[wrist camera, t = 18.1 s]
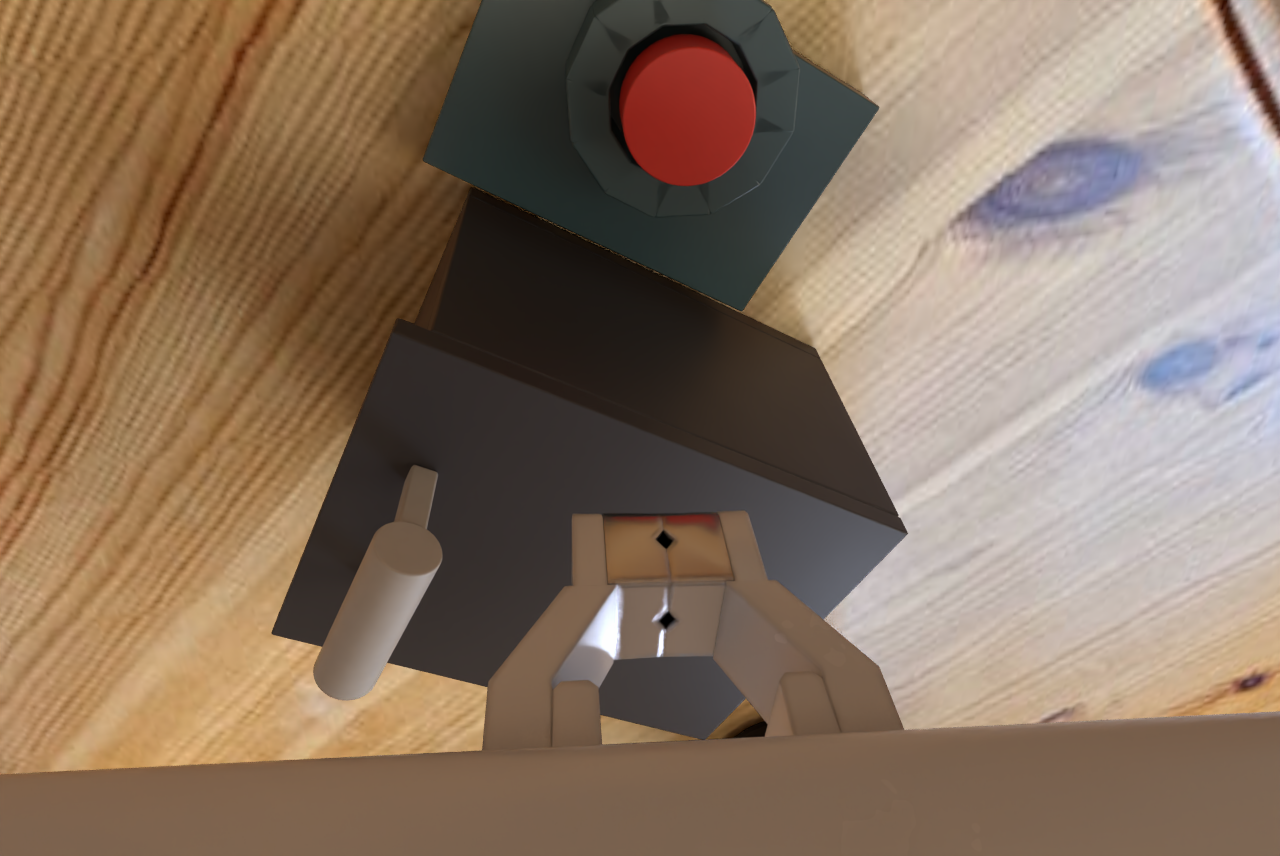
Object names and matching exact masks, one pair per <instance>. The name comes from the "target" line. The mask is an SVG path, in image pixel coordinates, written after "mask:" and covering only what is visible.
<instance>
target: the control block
mask: <svg viewBox="0 0 1280 856" xmlns="http://www.w3.org/2000/svg"><path fill="white" fill-rule="evenodd" d="M679 34H692V35H698V36H702V37H705V38H708V39H710V40H712V41H714V42H716V43H717V44H718V45H720V46H721V47H723V48H724V49H725V50H726V51H727V52H728V53H729V54H730V56H731V57H732V58H733V59H734V61H735V62H736V63H737V64H738V66H739V67H740V68H741V70H742V71H743V72H744V73H745V75H746V77H747V78H748V80H749V82H750V85H751V87H752V90H753V93H754V97H755V104H756V120H755V127H754V131H753V135H752V137H751V140H750V143H749V145H748V147H747V149H746V150H745V152H744V153H743V155H742V156H741V158H740V159H739V160H738V161H737V163H736V164H735V165H734V166H733V167H732V168H730V169H729V170H728V171H727V172H726V173H724V174H723V175H721V176H720V177H718V178H716V179H714V180H712V181H709V182H707V183H703V184H699V185H694V186H677V185H671V184H668V183H664V182H662V181H660V180H657V179H656V178H654V177H652V176H651V175H649V174H648V173H647V172H646V171H644V170H643V169H642V168H641V167H640V166H639V165H638V164H637V162H636V161H635V159H634V158H633V156H632V155H631V153H630V151H629V149H628V146H627V144H626V141H625V137H624V132H623V128H622V123H621V118H620V110H619V97H620V91H621V86H622V83H623V80H624V77H625V75H626V72H627V71H628V69H629V67H630V65H631V64H632V63H633V61H634V60H635V59H636V57H637V56H638V55H639V54H640V53H641V52H642V51H643V50H644V49H646V48H647V47H648V46H650V45H651V44H653V43H654V42H656V41H658V40H660V39H663V38H665V37H669V36H672V35H679ZM878 109H879V106H878V105H876V104H875V103H874V102H873V101H871V100H870V99H869V98H868V97H867V96H865V95H864V94H862V93H861V92H859V91H858V90H856V89H854V88H853V87H851V86H850V85H848V84H846V83H845V82H843V81H842V80H840V79H838V78H837V77H835V76H834V75H832V74H830V73H829V72H827V71H826V70H824V69H822V68H821V67H819V66H818V65H816V64H814V63H813V62H811V61H810V60H808V59H807V58H805V57H803V56H802V55H800V54H799V53H797V52H795V51H794V50H792V49H791V47H790V44H789V42H788V40H787V38H786V35H785V33H784V31H783V29H782V27H781V24H780V22H779V20H778V18H777V15H776V13H775V11H774V10H773V9H772V7H771V6H770V5H769V4H767V3H766V2H765V1H763V0H482V1H481V4H480V7H479V9H478V12H477V15H476V17H475V20H474V23H473V25H472V28H471V31H470V33H469V36H468V39H467V41H466V44H465V47H464V50H463V52H462V55H461V58H460V60H459V63H458V66H457V68H456V71H455V74H454V76H453V79H452V82H451V84H450V87H449V90H448V93H447V95H446V98H445V101H444V103H443V106H442V109H441V111H440V114H439V117H438V119H437V122H436V125H435V127H434V130H433V133H432V135H431V138H430V141H429V144H428V146H427V149H426V152H425V154H424V157H423V161H424V162H426V163H428V164H430V165H432V166H434V167H436V168H438V169H441V170H443V171H445V172H447V173H449V174H451V175H453V176H455V177H457V178H460V179H462V180H464V181H466V182H468V183H470V184H472V185H474V186H477V187H479V188H481V189H483V190H485V191H487V192H489V193H491V194H494V195H496V196H498V197H500V198H502V199H504V200H506V201H508V202H510V203H513V204H515V205H517V206H519V207H521V208H523V209H525V210H527V211H530V212H532V213H534V214H536V215H538V216H540V217H542V218H544V219H547V220H549V221H551V222H553V223H555V224H557V225H559V226H561V227H563V228H566V229H568V230H570V231H572V232H574V233H576V234H578V235H580V236H583V237H585V238H587V239H589V240H591V241H593V242H595V243H597V244H600V245H602V246H604V247H606V248H608V249H610V250H612V251H614V252H616V253H619V254H621V255H623V256H625V257H627V258H629V259H631V260H633V261H636V262H638V263H640V264H642V265H644V266H646V267H648V268H650V269H653V270H655V271H657V272H659V273H661V274H663V275H665V276H667V277H669V278H672V279H674V280H676V281H678V282H680V283H682V284H684V285H686V286H689V287H691V288H693V289H695V290H697V291H699V292H701V293H703V294H706V295H708V296H710V297H712V298H714V299H716V300H718V301H720V302H722V303H725V304H727V305H729V306H731V307H733V308H735V309H737V310H739V311H743V309H744V308H745V306H746V305H747V303H748V302H749V300H750V299H751V298H752V296H753V295H754V293H755V292H756V290H757V289H758V287H759V286H760V284H761V283H762V281H763V280H764V278H765V277H766V275H767V274H768V272H769V271H770V269H771V268H772V266H773V265H774V263H775V262H776V261H777V259H778V258H779V256H780V255H781V253H782V252H783V250H784V249H785V247H786V246H787V244H788V243H789V241H790V240H791V238H792V237H793V235H794V234H795V232H796V231H797V229H798V228H799V226H800V225H801V223H802V222H803V221H804V219H805V218H806V216H807V215H808V213H809V212H810V210H811V209H812V207H813V206H814V204H815V203H816V201H817V200H818V198H819V197H820V195H821V194H822V192H823V191H824V189H825V188H826V186H827V185H828V184H829V182H830V181H831V179H832V178H833V176H834V175H835V173H836V172H837V170H838V169H839V167H840V166H841V164H842V163H843V161H844V160H845V158H846V157H847V155H848V154H849V152H850V151H851V149H852V148H853V147H854V145H855V144H856V142H857V141H858V139H859V138H860V136H861V135H862V133H863V132H864V130H865V129H866V127H867V126H868V124H869V123H870V121H871V120H872V118H873V117H874V115H875V114H876V112H877V111H878Z"/></svg>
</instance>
